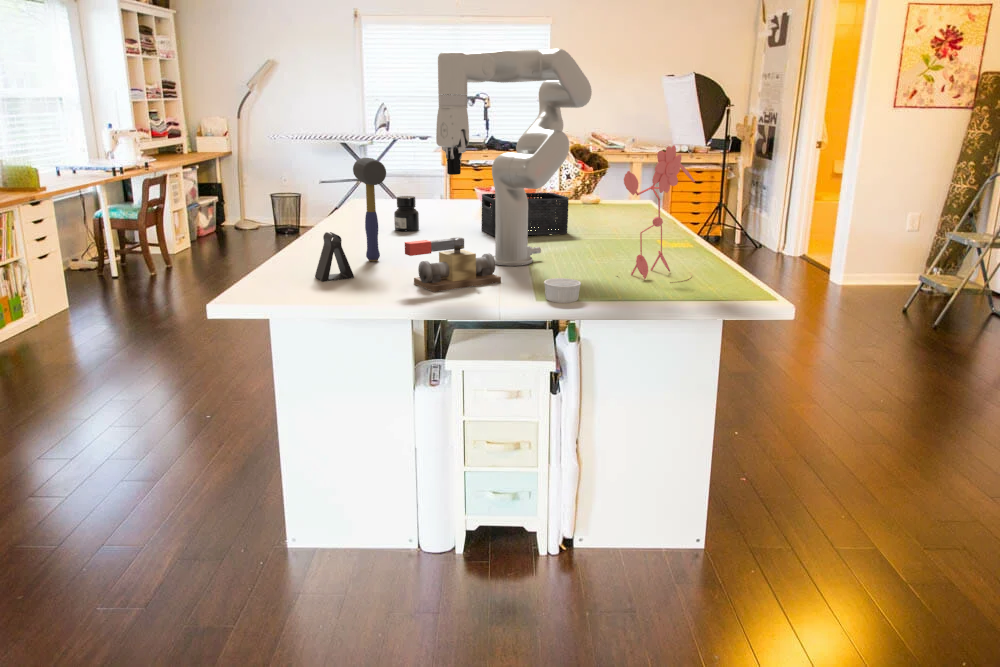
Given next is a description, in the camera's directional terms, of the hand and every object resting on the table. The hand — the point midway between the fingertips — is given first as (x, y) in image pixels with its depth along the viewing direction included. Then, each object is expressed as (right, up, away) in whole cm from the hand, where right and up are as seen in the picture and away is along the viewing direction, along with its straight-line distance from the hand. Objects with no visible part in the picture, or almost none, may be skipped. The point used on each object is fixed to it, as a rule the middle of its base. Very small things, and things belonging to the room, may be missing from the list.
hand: (453, 174), depth 205 cm
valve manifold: (+1, -29, -3) cm, 29 cm away
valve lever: (-4, -22, -9) cm, 24 cm away
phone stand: (-32, -28, +3) cm, 43 cm away
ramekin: (+27, -34, -18) cm, 48 cm away
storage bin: (+21, -6, +76) cm, 79 cm away
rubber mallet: (-25, -21, +24) cm, 41 cm away
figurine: (+56, -27, +6) cm, 63 cm away
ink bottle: (-22, -5, +79) cm, 82 cm away
